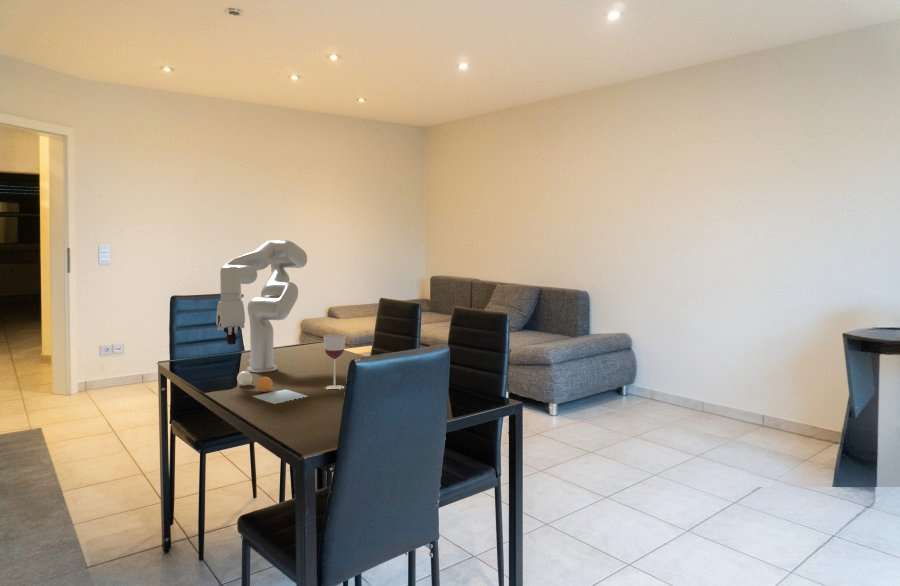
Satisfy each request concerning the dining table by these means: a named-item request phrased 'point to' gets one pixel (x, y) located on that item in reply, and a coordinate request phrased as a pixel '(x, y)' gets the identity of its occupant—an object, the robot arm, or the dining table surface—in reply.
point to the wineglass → (334, 352)
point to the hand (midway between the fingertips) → (231, 343)
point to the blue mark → (280, 396)
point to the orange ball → (264, 384)
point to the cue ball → (244, 378)
